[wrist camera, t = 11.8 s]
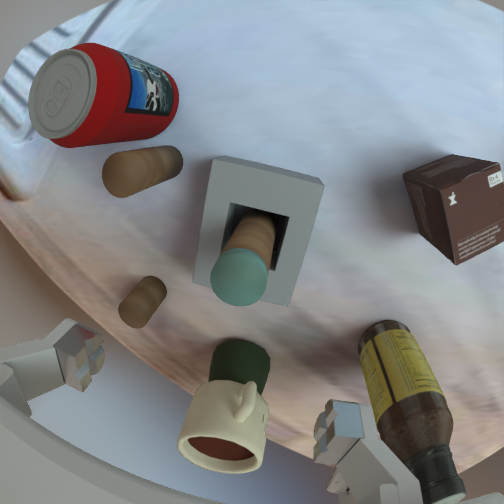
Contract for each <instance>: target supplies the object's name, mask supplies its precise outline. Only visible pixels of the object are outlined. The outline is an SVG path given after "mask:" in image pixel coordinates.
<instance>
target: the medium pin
mask: <svg viewBox="0 0 504 504" xmlns="http://www.w3.org/2000/svg"><path fill="white" fill-rule="evenodd" d="M182 167H183V158H182V155H181V153H180V151H179V150H178V149H177V148H175V147H173V146H159V147H151V148H143V149H136V150H130V151H123V152H118V153H114V154H113V155H111V156H110V157H109V158H108V159H107V160H106V162H105V164H104V166H103V170H102V178H103V183H104V185H105V187H106V189H107V190H108V191H109V192H110V193H111V194H112V195H114V196H116V197H119V198H125V197H128V196H130V195H133V194H135V193H137V192H140V191H142V190H144V189H147V188H149V187H152V186H154V185H156V184H159V183H161V182H164V181H166V180H169V179H171V178H174V177H175V176H177V175H178V174H179V173H180V171H181V170H182Z"/></svg>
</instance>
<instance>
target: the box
mask: <svg viewBox="0 0 504 504" xmlns="http://www.w3.org/2000/svg"><path fill="white" fill-rule="evenodd" d="M403 178H404V180H405V184H406V187H407V190H408V193H409V196H410V199H411V203H412V206H413V210H414V213H415V217H416V221H417V224H418V228H419V232H420V235H421V236H423V237H424V238H425V239H426V240H427V241H429V242H430V243H431V244H432V245H433V246H434V247H436V248H437V249H438V250H439V251H440V252H441V253H442V254H443V255H445V256H446V257H447V258H448V259H449V260H451V262H452V263H454V265H458V264H460V263H462V262H464V261H466V260H469V259H471V258H473V257H474V256H477V255H478V254H480V253H482V252H484V251H486V250H488V249H490V248H492V247H494V246H496V245H498V244H500V243H501V242H503V241H504V182H503V176H502V172H501V168H500V164H499V163H497V162H490V161H486V160H481V159H476V158H470V157H464V156H458V155H450V156H448V157H445V158H443V159H440V160H437V161H435V162H432V163H430V164H427V165H424V166H422V167H419V168H417V169H414V170H412V171H409V172H407V173H404V174H403Z"/></svg>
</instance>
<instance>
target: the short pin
mask: <svg viewBox="0 0 504 504" xmlns="http://www.w3.org/2000/svg"><path fill="white" fill-rule="evenodd" d="M166 295H167V290H166V286H165V285H164V283H163V282H162V281H161V280H160V279H159V278H157V277H154V276H147V277H145V278H144V279H143V280H142V281H141V282H140V283H139V284H138V285H137V286H136V287H135V288H134V289H133V290H132V291H131V293H130V294H129V295H128V296H127V297H126V298H125V299H124V300H123V301H122V302H121V303H120V305H119V308H118V311H119V315H120V317H121V319H122V320H123V321H124V322H125V323H126V324H127V325H129V326H130V327H133V328H142V327H144V326H145V325H146V323H147V322H148V321H149V319H150V318H151V316H152V315H153V314H154V312H155V311H156V310H157V308H158V307H159V305H160V304H161V303H162V301H163V300H164V299H165V297H166Z"/></svg>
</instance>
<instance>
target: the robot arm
mask: <svg viewBox="0 0 504 504" xmlns="http://www.w3.org/2000/svg"><path fill="white" fill-rule="evenodd" d="M102 342H103V336H102V334H101V333H99V332H97V331H95V330H93V329H91V328H89V327H87V326H85V325H82V324H80V323H78V322H76V321H74V320H72V319H70V318H67V319H65V320H64V321H62V322H61V323H60V324H59V325H58V326H57V327H56V328H55V329H54V330H52V331H51V332H50V333H49V334H48V335H47V336H46V337H45V338H44V339H43V340H40V339H37V340H32V341H28V342H24V343H20V344H16V345H11V346H7V347H3V348H0V504H225V503H220V502H217V501H212V500H209V499H205V498H201V497H197V496H194V495H190V494H187V493H183V492H180V491H177V490H174V489H171V488H168V487H165V486H162V485H159V484H157V483H154V482H151V481H149V480H146V479H143V478H141V477H138V476H136V475H134V474H131V473H129V472H126V471H124V470H122V469H120V468H117V467H115V466H113V465H111V464H109V463H107V462H104V461H102V460H100V459H98V458H96V457H94V456H92V455H90V454H89V453H87V452H85V451H83V450H81V449H79V448H77V447H76V446H74V445H72V444H70V443H69V442H67V441H65V440H64V439H62V438H60V437H58V436H57V435H55V434H54V433H52V432H51V431H49V430H47V429H46V428H44V427H43V426H41V425H40V424H38V423H37V422H35V421H34V420H32V419H31V418H30V416H31V414H32V413H31V409H30V407H29V405H28V403H27V401H28V400H30V399H33V398H35V397H37V396H40V395H42V394H44V393H46V392H49V391H51V390H53V389H55V388H58V387H60V386H62V385H64V383H65V384H67V385H69V386H71V387H73V388H75V389H77V390H79V391H81V392H84V390H85V389H86V388H87V386H88V385H89V384H90V383H91V381H92V379H91V375H94V374H96V373H98V372H99V371H100V369H101V368H102V365H103V363H104V358H105V353H104V349H103V348H102V346H101V344H102ZM314 438H315V440H316V441H317V443H316V445H315V446H314V461H313V462H314V463H322V464H330V465H336V468H337V469H336V470H335V472H334V474H333V476H332V478H331V479H330V481H329V483H328V484H327V486H326V488H327V491H329V492H332V493H337V494H339V503H340V504H423V500H422V494H421V489H420V483H419V480H418V479H417V478H416V477H415V476H414V475H413V474H412V473H411V472H410V471H409V470H408V468H407V467H406V466H405V465H404V464H403V463H402V462H401V461H400V460H399V459H398V458H397V456H396V455H395V454H394V453H393V452H392V451H391V450H390V449H389V448H388V446H387V445H386V444H385V443H384V442H383V441H382V440H378V436H377V430H376V425H375V420H374V415H373V410H372V406H371V405H370V404H363V403H355V402H347V401H340V400H333V399H330V400H329V401H328V402H327V404H326V405H325V411H324V412H322V413H320V415H319V417H318V418H317V421H316V424H315V427H314ZM455 504H504V496H503V495H502V494H500V493H491V494H487V495H485V496H481V497H478V498H475V499H471V500H467V501H463V502H459V503H455Z"/></svg>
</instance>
